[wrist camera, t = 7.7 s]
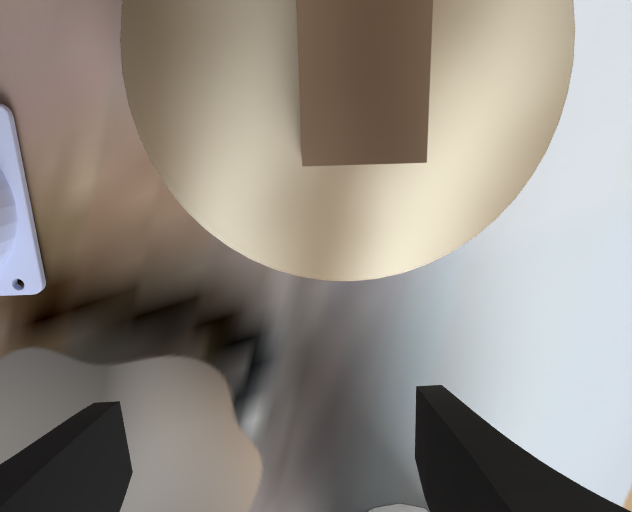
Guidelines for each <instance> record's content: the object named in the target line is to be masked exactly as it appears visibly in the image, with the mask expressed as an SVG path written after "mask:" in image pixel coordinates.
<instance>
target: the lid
mask: <svg viewBox="0 0 632 512" xmlns="http://www.w3.org/2000/svg"><path fill="white" fill-rule="evenodd" d="M574 40H575V21H574V4H573V0H123V5H122V17H121V37H120V44H121V58H122V71H123V78H124V83H125V88H126V93H127V98H128V103H129V107H130V110H131V113H132V116H133V119H134V122H135V125H136V128H137V131H138V134H139V137H140V139H141V141H142V143H143V145H144V147H145V149H146V152H147V154H148V156H149V158H150V160H151V162H152V164H153V165H154V167H155V169H156V170H157V172H158V174H159V175H160V177H161V178H162V180H163V182H164V183H165V185H166V186H167V188H168V189H169V190H170V191H171V193H172V194H173V195H174V196H175V198H176V199H177V200H178V201H179V203H180V204H181V205H182V206H183V208H184V209H185V210H186V211H187V212H188V213H189V214H190V215H191V216H192V217H193V218H194V219H195V220H196V221H197V222H198V223H199V224H200V225H202V226H203V227H204V228H205V229H206V230H207V231H208V232H210V233H211V234H212V235H214V236H215V237H216V238H218V239H219V240H220V241H222V242H223V243H224V244H226V245H227V246H229V247H230V248H232V249H234V250H236V251H237V252H239V253H241V254H242V255H244V256H246V257H248V258H249V259H251V260H254V261H256V262H258V263H261V264H263V265H266V266H268V267H270V268H273V269H275V270H279V271H282V272H286V273H289V274H293V275H296V276H300V277H306V278H313V279H319V280H326V281H359V280H369V279H378V278H383V277H387V276H392V275H396V274H400V273H404V272H407V271H410V270H413V269H415V268H418V267H421V266H424V265H427V264H429V263H431V262H433V261H435V260H437V259H439V258H441V257H443V256H445V255H447V254H449V253H451V252H453V251H454V250H456V249H457V248H459V247H460V246H462V245H463V244H465V243H466V242H468V241H469V240H471V239H472V238H474V237H475V236H477V235H478V234H479V233H480V232H481V231H482V230H484V229H485V228H486V227H487V226H488V225H490V224H491V223H492V222H493V221H494V220H495V219H496V218H497V217H498V216H499V215H500V214H501V213H502V212H503V211H504V210H505V209H506V208H507V207H508V206H509V205H510V204H511V202H512V201H513V200H514V199H515V198H516V197H517V195H518V194H519V193H520V191H521V190H522V189H523V187H524V186H525V185H526V183H527V182H528V181H529V179H530V178H531V176H532V175H533V173H534V172H535V170H536V168H537V166H538V165H539V163H540V161H541V159H542V158H543V156H544V154H545V152H546V151H547V149H548V146H549V144H550V142H551V139H552V137H553V135H554V132H555V130H556V128H557V125H558V123H559V120H560V117H561V114H562V110H563V107H564V104H565V100H566V97H567V94H568V89H569V83H570V77H571V72H572V66H573V57H574Z"/></svg>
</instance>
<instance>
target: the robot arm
mask: <svg viewBox="0 0 632 512" xmlns="http://www.w3.org/2000/svg"><path fill="white" fill-rule="evenodd" d="M18 279H20V280H22V281H23V282H24V284H25V285H24V287H21V286H20V285H19V284H18V282H17V280H18ZM45 286H46V280H45V275H44V270H43V264H42V259H41V254H40V249H39V244H38V239H37V234H36V229H35V224H34V219H33V214H32V208H31V203H30V198H29V193H28V188H27V183H26V178H25V173H24V168H23V163H22V157H21V152H20V147H19V142H18V137H17V132H16V127H15V122H14V117H13V114H12V111H11V110H10V109H9V108H8V107H7V106H5V105H3V104H0V296H6V295H33V294H37V293H39V292H40V291H42V290H43V289H44V288H45ZM415 460H416V464H417V468H418V472H419V476H420V481H421V484H422V488H423V492H424V496H425V499H426V502H427V505H428V508H429V510H430V512H631V511H629V510H627V509H625V508H623V507H621V506H619V505H617V504H615V503H613V502H611V501H609V500H607V499H605V498H603V497H601V496H599V495H597V494H595V493H594V492H592V491H590V490H588V489H586V488H584V487H583V486H581V485H579V484H578V483H576V482H574V481H572V480H571V479H569V478H567V477H566V476H564V475H562V474H561V473H559V472H557V471H556V470H554V469H552V468H551V467H549V466H548V465H546V464H544V463H543V462H541V461H540V460H538V459H537V458H535V457H534V456H532V455H531V454H530V453H528V452H527V451H525V450H524V449H522V448H521V447H519V446H518V445H517V444H515V443H514V442H512V441H511V440H510V439H508V438H507V437H506V436H504V435H503V434H502V433H500V432H499V431H498V430H496V429H495V428H494V427H492V426H491V425H490V424H489V423H487V422H486V421H485V420H484V419H482V418H481V417H480V416H479V415H477V414H476V413H475V412H474V411H472V410H471V409H470V408H469V407H468V406H466V405H465V404H464V403H463V402H462V401H460V400H459V399H458V398H457V397H456V396H454V395H453V394H452V393H451V392H450V391H448V390H447V389H446V388H444V387H443V386H442V385H433V386H416V431H415ZM131 476H132V467H131V461H130V455H129V450H128V444H127V439H126V433H125V428H124V422H123V417H122V411H121V406H120V402H100V403H93V404H92V405H90V406H88V407H86V408H85V409H83V410H81V411H80V412H78V413H77V414H75V415H74V416H72V417H71V418H69V419H68V420H66V421H65V422H63V423H62V424H61V425H59V426H57V427H56V428H54V429H53V430H52V431H50V432H49V433H47V434H46V435H44V436H43V437H41V438H40V439H38V440H37V441H35V442H34V443H32V444H31V445H29V446H28V447H27V448H25V449H23V450H22V451H20V452H19V453H17V454H16V455H14V456H13V457H11V458H10V459H8V460H7V461H5V462H4V463H2V464H0V512H119V511H120V509H121V506H122V503H123V500H124V497H125V495H126V491H127V488H128V485H129V482H130V479H131Z"/></svg>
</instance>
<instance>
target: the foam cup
mask: <svg viewBox="0 0 632 512" xmlns="http://www.w3.org/2000/svg"><path fill="white" fill-rule="evenodd" d="M368 512H429V511H427V510H426V509H425V508H420V507H415V506H410V505H405V504H394V505H388V506H383V507H377V508H373V509H372V510H370V511H368Z"/></svg>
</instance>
